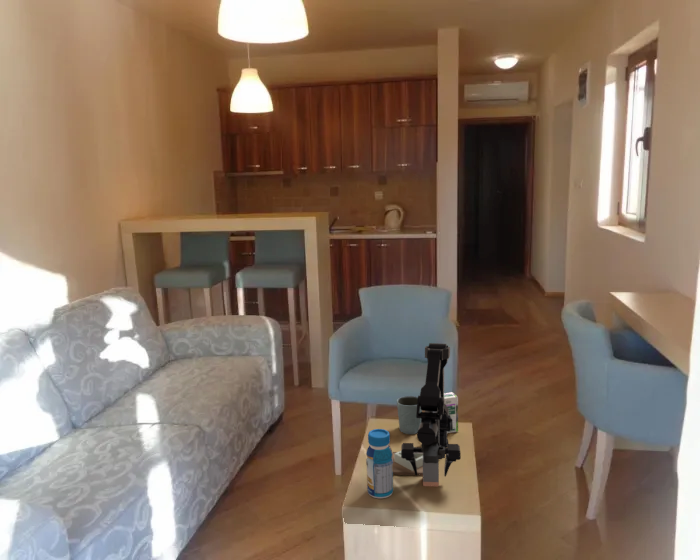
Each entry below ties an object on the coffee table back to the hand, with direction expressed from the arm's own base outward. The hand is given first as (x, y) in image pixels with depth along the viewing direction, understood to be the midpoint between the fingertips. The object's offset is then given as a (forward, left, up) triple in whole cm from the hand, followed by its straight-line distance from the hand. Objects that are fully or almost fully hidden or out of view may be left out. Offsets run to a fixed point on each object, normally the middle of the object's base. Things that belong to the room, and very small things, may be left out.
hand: (430, 475), depth 183 cm
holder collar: (-11, -6, -2) cm, 13 cm away
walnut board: (-11, -6, -2) cm, 13 cm away
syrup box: (-39, +8, -2) cm, 40 cm away
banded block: (0, 0, -2) cm, 2 cm away
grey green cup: (-39, -7, -2) cm, 40 cm away
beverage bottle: (+7, -16, -2) cm, 18 cm away
